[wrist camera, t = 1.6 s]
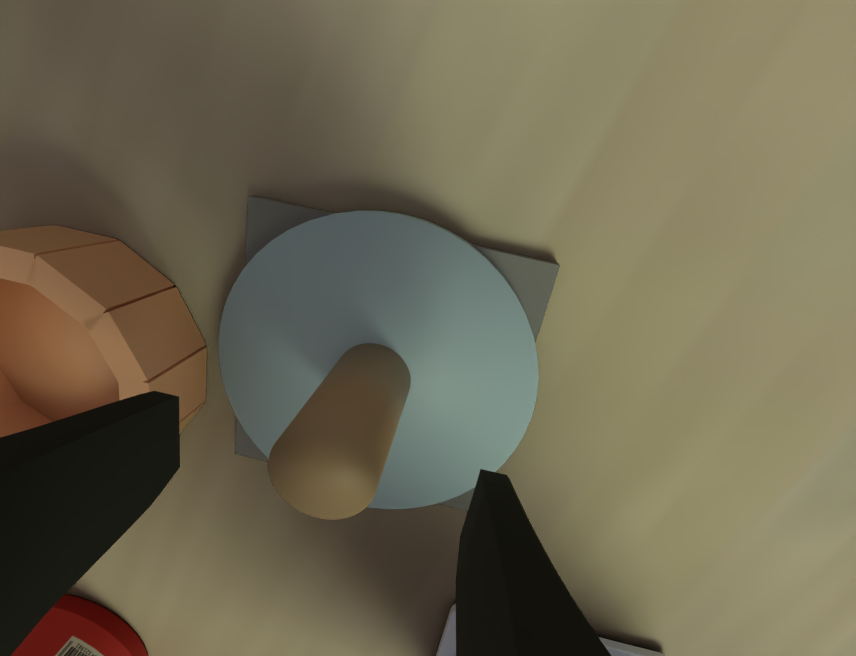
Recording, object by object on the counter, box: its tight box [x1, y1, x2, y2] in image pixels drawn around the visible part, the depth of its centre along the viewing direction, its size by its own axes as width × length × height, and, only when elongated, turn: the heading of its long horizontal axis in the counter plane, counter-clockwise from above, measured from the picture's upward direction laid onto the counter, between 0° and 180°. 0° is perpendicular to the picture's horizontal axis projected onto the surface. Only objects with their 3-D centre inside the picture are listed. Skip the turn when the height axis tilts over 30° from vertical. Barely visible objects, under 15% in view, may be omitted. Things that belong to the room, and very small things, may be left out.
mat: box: [235, 195, 560, 511], centre depth 15 cm, size 10×10×1 cm
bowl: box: [0, 225, 207, 438], centre depth 15 cm, size 9×9×3 cm
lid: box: [218, 210, 539, 520], centre depth 12 cm, size 11×11×6 cm
